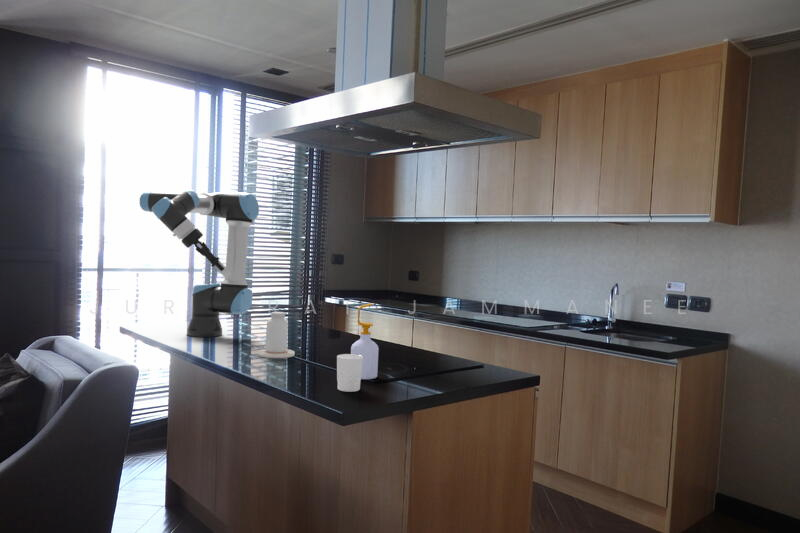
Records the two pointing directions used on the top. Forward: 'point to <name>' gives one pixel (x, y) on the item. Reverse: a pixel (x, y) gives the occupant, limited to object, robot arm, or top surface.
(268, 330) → the pill bottle
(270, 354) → the coaster
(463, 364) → the top surface
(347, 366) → the white cup
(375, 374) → the soap bottle
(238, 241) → the robot arm
